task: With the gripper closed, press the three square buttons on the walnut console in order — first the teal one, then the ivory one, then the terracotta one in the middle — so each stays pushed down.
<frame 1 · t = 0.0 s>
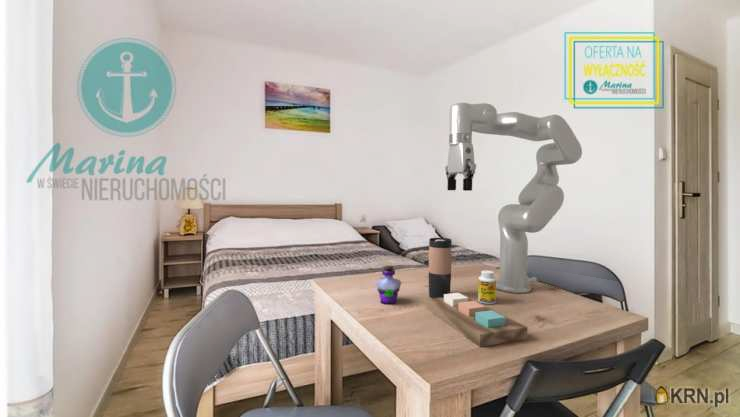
hand: (459, 190, 119), 37 cm above the table, tool pointing down, fingers open, 9 cm apart
potion bottle: (388, 302, 113), on the table
ivory button: (455, 300, 104), point 4 cm above the table, slide at 0.0 cm
console: (471, 322, 96), on the table
terracotta button: (471, 309, 96), point 4 cm above the table, slide at 0.0 cm
teal button: (489, 320, 89), point 4 cm above the table, slide at 0.0 cm
supplement bottle: (486, 302, 113), on the table
travel mug: (439, 296, 119), on the table
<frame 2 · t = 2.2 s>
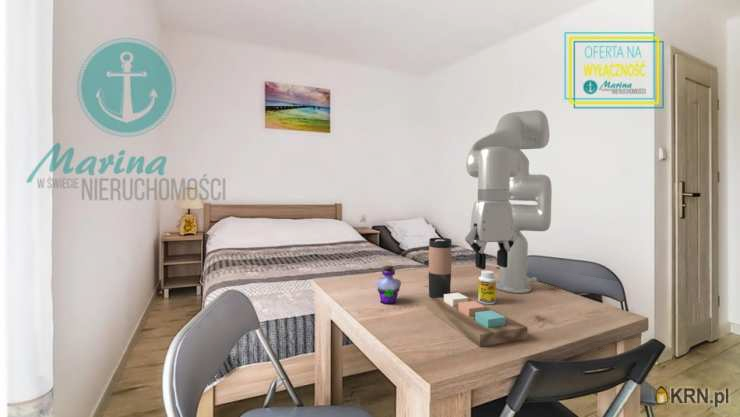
hand: (491, 266, 88), 18 cm above the table, tool pointing down, fingers open, 5 cm apart
nothing on the table moved.
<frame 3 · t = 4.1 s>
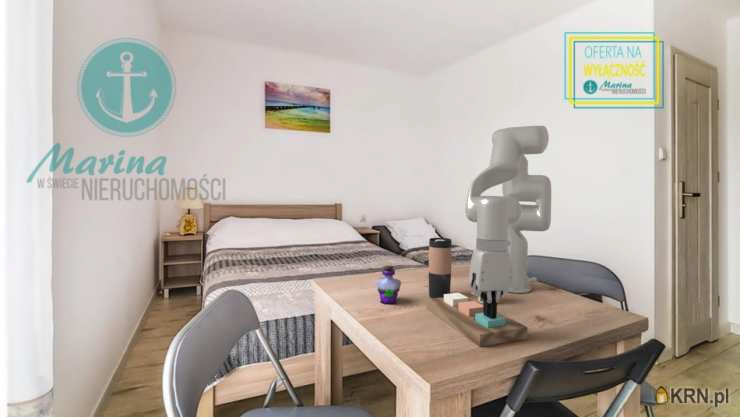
hand: (489, 316, 88), 5 cm above the table, tool pointing down, fingers closed
teal button: (489, 321, 89), point 3 cm above the table, slide at 0.4 cm, touching gripper
everything else where it was.
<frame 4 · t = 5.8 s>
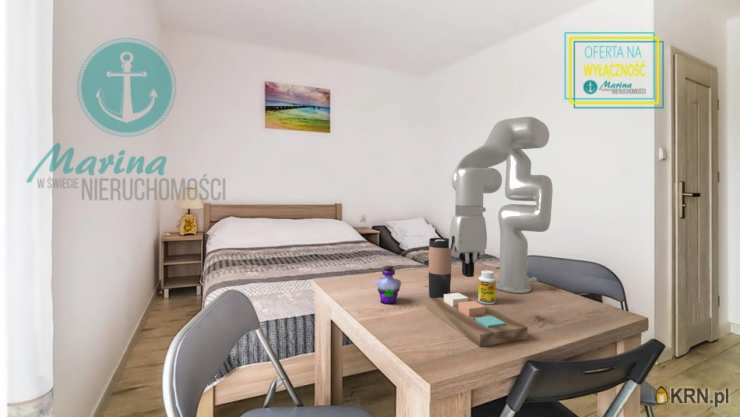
hand: (467, 275, 98), 13 cm above the table, tool pointing down, fingers closed
teal button: (489, 326, 89), point 2 cm above the table, slide at 1.5 cm
everything else where it was.
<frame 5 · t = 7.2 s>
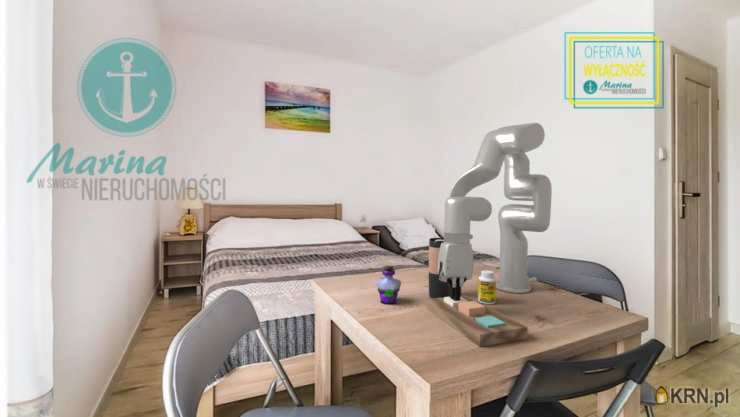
hand: (455, 299, 103), 4 cm above the table, tool pointing down, fingers closed
ivory button: (455, 303, 104), point 3 cm above the table, slide at 1.0 cm, touching gripper
everything else where it was.
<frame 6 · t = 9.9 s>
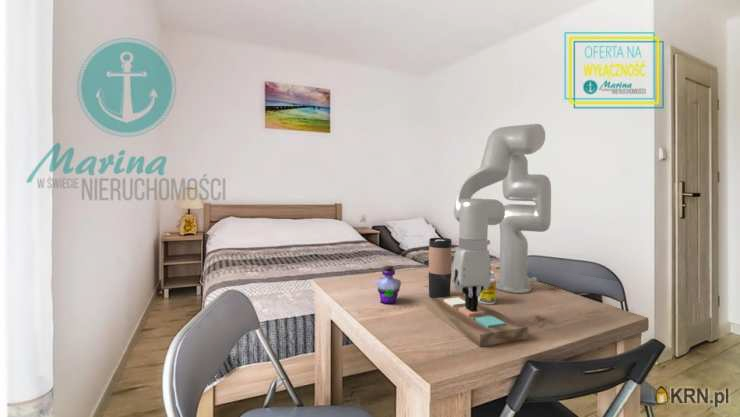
hand: (471, 309, 96), 4 cm above the table, tool pointing down, fingers closed
ivory button: (455, 305, 104), point 2 cm above the table, slide at 1.5 cm
terracotta button: (471, 314, 96), point 2 cm above the table, slide at 1.4 cm
everything else where it was.
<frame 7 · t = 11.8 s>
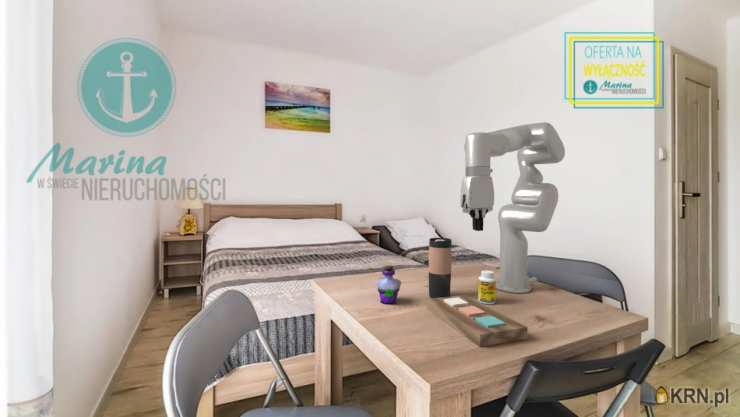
hand: (477, 230, 110), 24 cm above the table, tool pointing down, fingers closed
nothing on the table moved.
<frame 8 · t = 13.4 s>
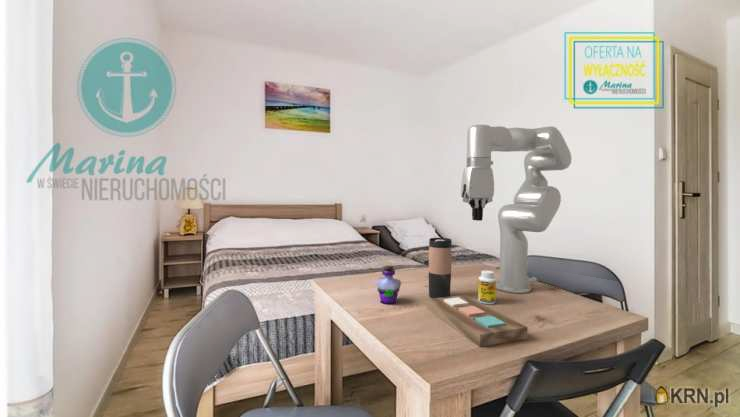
hand: (477, 220, 113), 27 cm above the table, tool pointing down, fingers closed
nothing on the table moved.
at the end: teal button slide at 1.5 cm; ivory button slide at 1.5 cm; terracotta button slide at 1.5 cm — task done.
